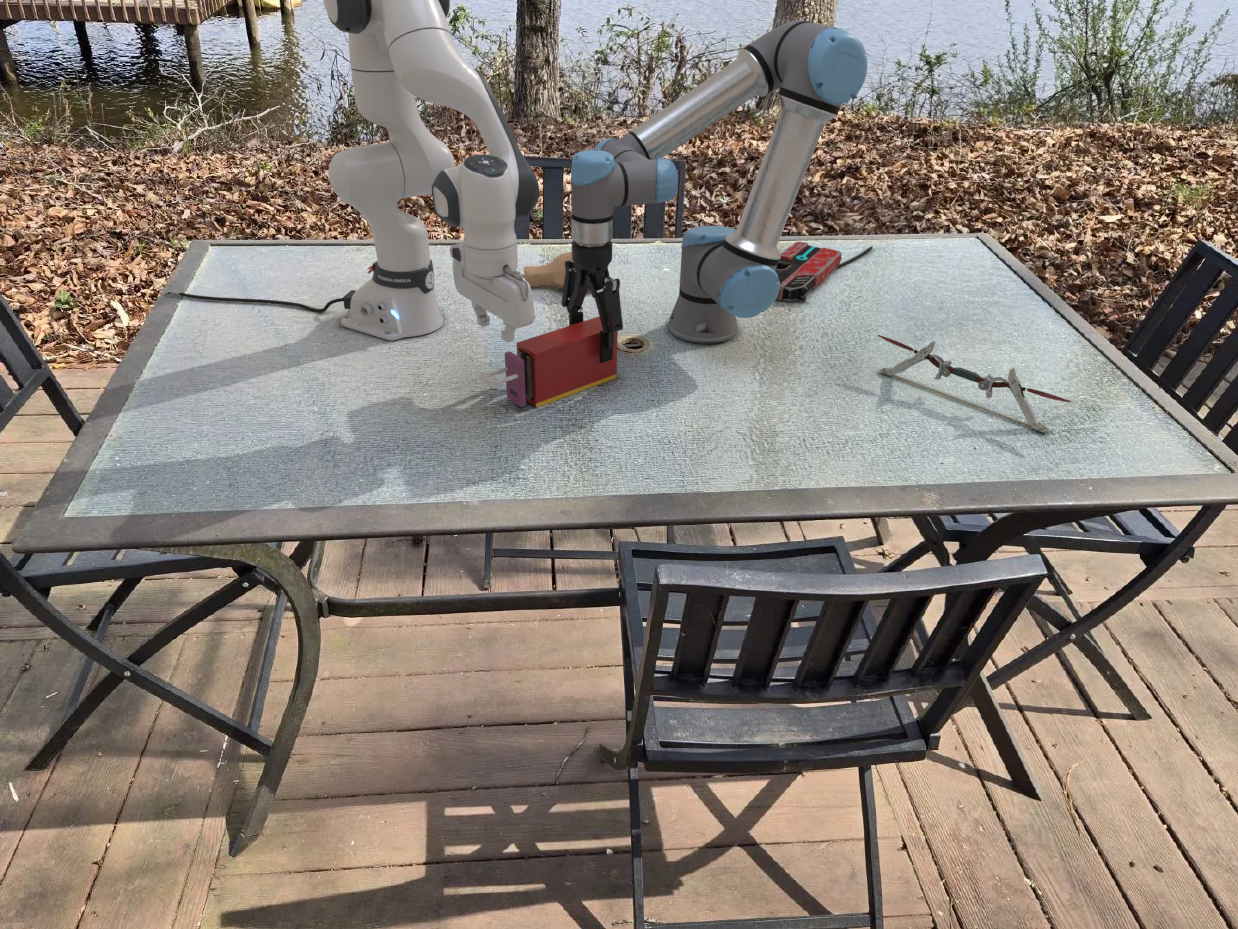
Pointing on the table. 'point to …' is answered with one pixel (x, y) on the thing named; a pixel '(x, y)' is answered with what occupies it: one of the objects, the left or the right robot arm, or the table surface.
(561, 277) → the squash
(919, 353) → the bow
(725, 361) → the table surface
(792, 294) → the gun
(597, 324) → the red yellow-edged box
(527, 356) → the drawer
